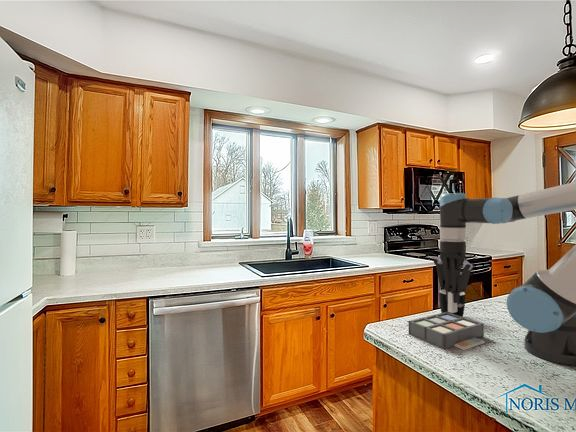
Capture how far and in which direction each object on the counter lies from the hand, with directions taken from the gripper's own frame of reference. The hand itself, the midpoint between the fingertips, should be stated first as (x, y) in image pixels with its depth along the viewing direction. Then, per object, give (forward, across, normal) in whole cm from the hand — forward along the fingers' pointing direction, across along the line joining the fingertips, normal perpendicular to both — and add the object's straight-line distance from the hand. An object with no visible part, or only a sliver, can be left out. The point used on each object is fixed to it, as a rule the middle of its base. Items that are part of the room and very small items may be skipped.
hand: (452, 311), depth 99 cm
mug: (+9, +13, -19) cm, 25 cm away
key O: (+7, 0, -6) cm, 9 cm away
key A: (+7, +6, -6) cm, 11 cm away
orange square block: (+7, 0, 0) cm, 7 cm away
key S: (+7, 0, +6) cm, 9 cm away
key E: (+7, +6, +6) cm, 11 cm away
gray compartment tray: (+9, +1, 0) cm, 9 cm away
